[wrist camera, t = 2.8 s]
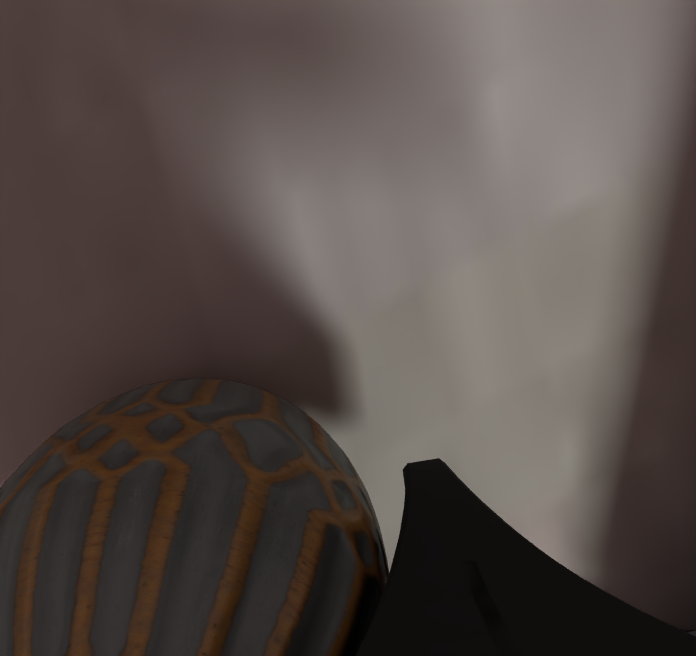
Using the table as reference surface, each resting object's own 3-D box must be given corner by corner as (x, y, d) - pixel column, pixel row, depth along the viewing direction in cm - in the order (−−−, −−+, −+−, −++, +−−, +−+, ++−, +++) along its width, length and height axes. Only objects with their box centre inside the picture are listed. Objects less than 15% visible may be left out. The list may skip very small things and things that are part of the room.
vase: (9, 372, 12) (-610, 883, 4) (333, 300, 12) (382, 669, 4) (120, 623, 15) (-129, 1278, 6) (394, 563, 15) (505, 1147, 6)
